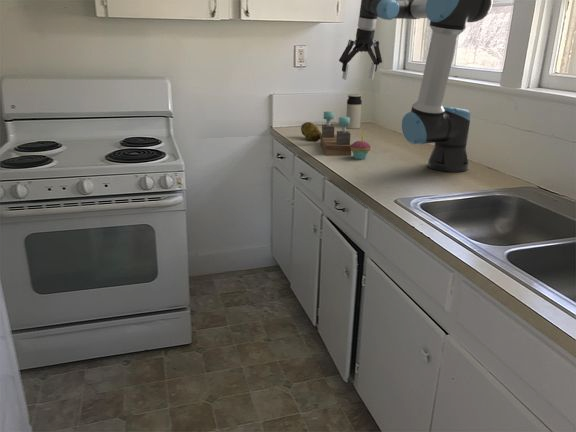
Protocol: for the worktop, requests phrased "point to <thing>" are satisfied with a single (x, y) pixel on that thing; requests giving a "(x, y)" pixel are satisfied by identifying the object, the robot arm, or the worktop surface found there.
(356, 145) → the cupcake
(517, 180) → the worktop surface
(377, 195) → the worktop surface
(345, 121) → the knob near
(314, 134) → the potato
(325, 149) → the mount
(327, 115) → the knob far
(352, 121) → the travel mug
